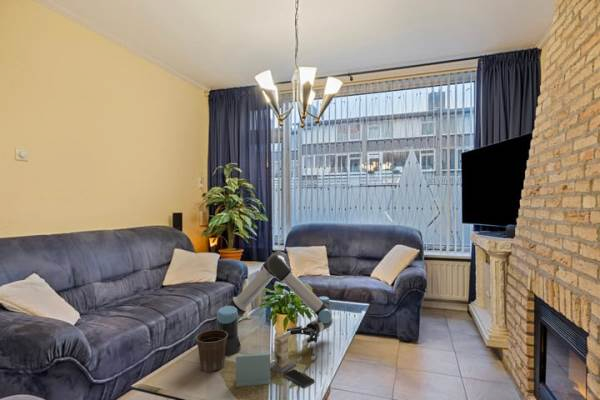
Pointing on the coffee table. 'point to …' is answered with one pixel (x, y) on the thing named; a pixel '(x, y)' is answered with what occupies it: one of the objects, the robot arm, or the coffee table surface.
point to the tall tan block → (281, 351)
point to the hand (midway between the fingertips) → (292, 340)
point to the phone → (299, 378)
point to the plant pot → (212, 349)
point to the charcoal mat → (282, 370)
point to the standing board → (252, 369)
